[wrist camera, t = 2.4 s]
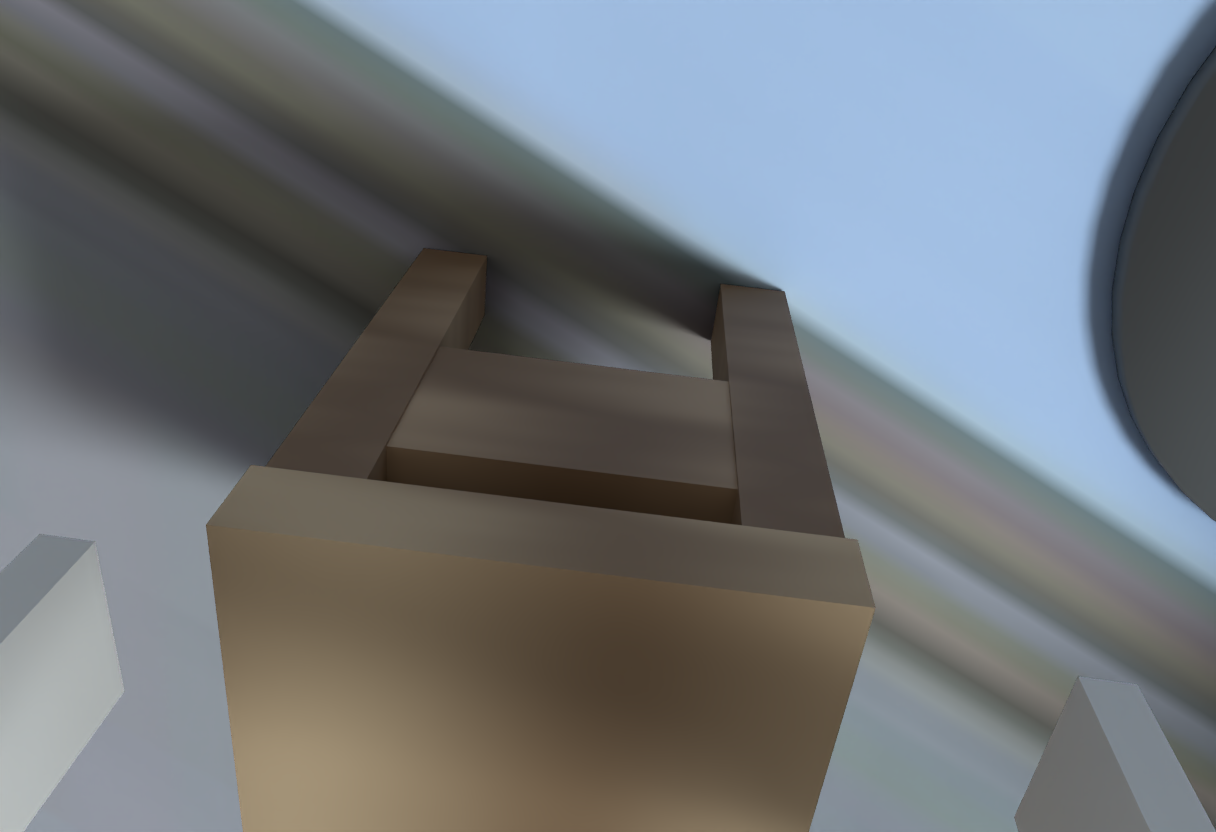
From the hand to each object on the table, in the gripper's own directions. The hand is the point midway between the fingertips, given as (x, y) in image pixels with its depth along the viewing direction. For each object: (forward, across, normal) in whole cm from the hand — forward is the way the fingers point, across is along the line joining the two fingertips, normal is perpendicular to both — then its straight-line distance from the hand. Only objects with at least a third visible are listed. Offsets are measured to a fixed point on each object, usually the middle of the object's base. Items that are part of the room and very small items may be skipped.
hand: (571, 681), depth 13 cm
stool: (+7, -1, 0) cm, 7 cm away
